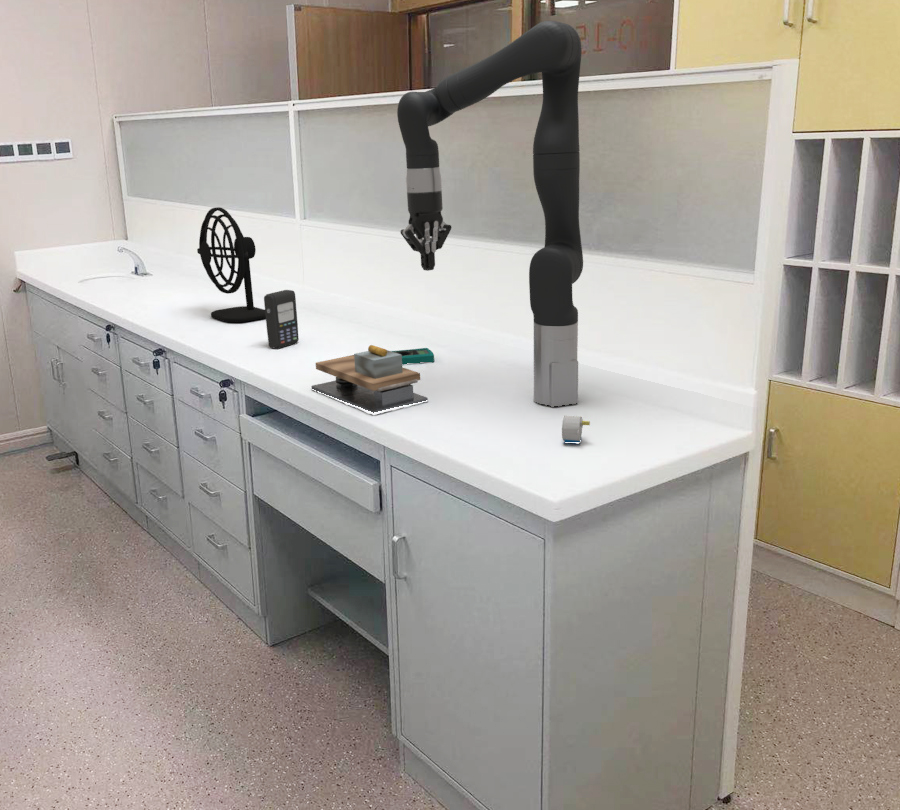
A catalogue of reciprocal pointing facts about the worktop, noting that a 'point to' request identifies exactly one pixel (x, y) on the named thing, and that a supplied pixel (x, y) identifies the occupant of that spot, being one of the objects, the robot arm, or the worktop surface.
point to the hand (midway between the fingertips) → (428, 269)
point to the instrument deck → (360, 379)
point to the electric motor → (572, 428)
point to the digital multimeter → (416, 355)
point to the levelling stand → (369, 395)
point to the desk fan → (243, 252)
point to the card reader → (281, 318)
